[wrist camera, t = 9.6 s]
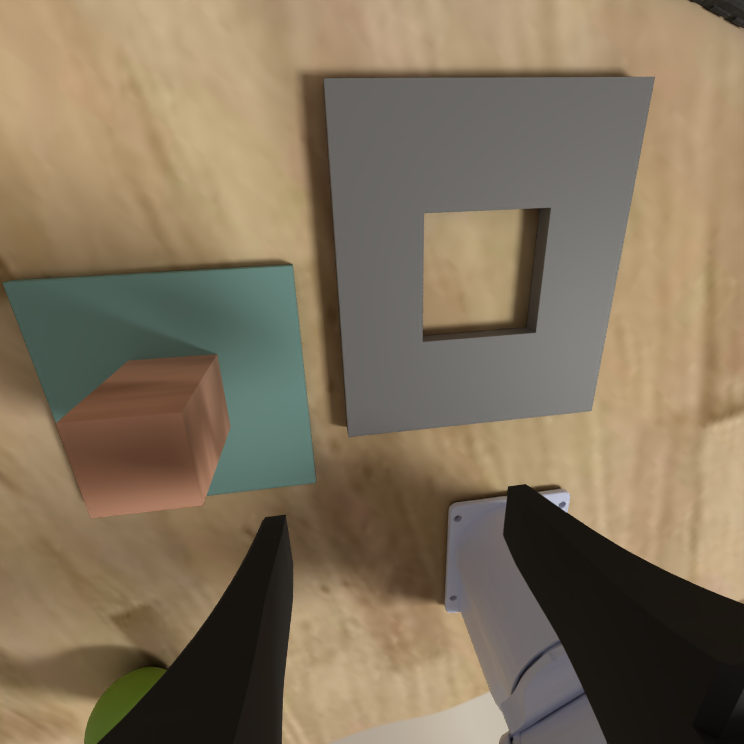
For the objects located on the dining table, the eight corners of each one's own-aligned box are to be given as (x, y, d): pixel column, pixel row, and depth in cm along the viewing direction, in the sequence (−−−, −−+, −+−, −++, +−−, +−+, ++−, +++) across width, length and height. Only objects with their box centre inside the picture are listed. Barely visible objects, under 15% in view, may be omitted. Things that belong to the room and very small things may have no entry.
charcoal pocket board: (580, 403, 24) (591, 411, 23) (346, 427, 23) (348, 437, 22) (637, 83, 18) (655, 76, 17) (323, 85, 17) (323, 77, 16)
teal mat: (315, 476, 24) (315, 482, 23) (94, 502, 22) (88, 509, 22) (292, 264, 19) (292, 266, 19) (11, 280, 18) (2, 282, 17)
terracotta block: (230, 427, 21) (202, 505, 16) (148, 434, 21) (90, 518, 15) (217, 354, 20) (180, 412, 14) (128, 360, 19) (55, 423, 14)
